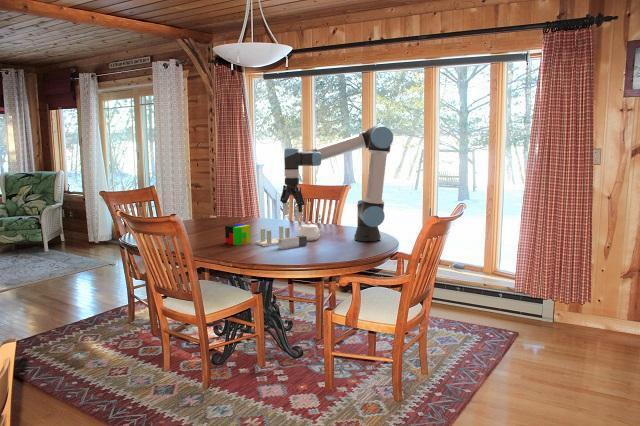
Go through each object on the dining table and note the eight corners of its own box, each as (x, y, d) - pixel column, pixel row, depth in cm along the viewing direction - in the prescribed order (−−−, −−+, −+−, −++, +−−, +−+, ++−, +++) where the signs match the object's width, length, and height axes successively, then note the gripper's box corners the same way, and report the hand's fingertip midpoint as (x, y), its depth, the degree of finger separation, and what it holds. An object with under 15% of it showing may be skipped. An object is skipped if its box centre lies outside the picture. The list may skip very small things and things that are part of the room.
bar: (306, 245, 286) (306, 236, 286) (281, 249, 277) (281, 240, 276) (303, 244, 289) (303, 235, 288) (278, 248, 280) (278, 239, 279)
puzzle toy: (239, 240, 301) (238, 223, 299) (251, 242, 294) (250, 225, 293) (225, 243, 293) (225, 226, 291) (237, 245, 287) (237, 228, 285)
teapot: (329, 239, 300) (329, 222, 299) (314, 243, 292) (314, 225, 290) (305, 235, 314) (305, 218, 313) (290, 238, 306) (290, 221, 304)
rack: (295, 241, 296) (294, 227, 294) (264, 246, 284) (264, 231, 283) (285, 238, 304) (285, 224, 302) (255, 243, 292) (255, 229, 291)
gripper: (311, 178, 269) (311, 219, 273) (285, 175, 289) (285, 213, 293) (298, 179, 265) (299, 220, 268) (273, 176, 285) (274, 214, 288)
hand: (292, 216), depth 281 cm, fingers open, 13 cm apart
